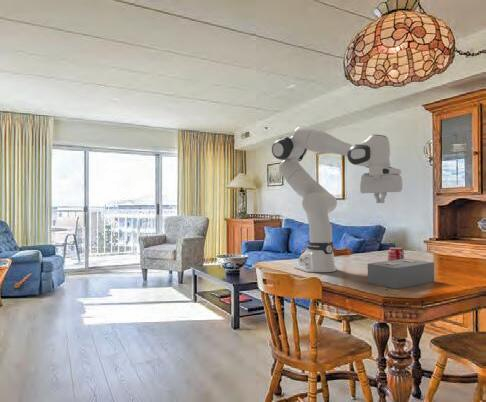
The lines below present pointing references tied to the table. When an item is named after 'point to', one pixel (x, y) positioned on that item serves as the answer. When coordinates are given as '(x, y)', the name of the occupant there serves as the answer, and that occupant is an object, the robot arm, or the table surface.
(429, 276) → the block
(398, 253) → the soda can
